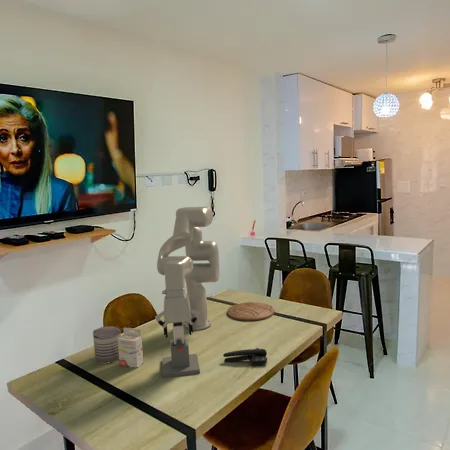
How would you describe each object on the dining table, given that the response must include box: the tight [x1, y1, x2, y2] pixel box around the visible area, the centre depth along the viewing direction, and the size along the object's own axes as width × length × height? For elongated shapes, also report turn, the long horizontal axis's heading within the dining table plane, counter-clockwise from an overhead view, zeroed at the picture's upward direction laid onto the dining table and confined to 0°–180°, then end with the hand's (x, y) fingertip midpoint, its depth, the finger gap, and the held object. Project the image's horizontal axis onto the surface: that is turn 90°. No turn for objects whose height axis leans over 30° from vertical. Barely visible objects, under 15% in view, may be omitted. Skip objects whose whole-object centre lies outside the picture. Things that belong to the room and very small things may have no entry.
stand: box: [162, 338, 201, 378], centre depth 164 cm, size 14×14×11 cm
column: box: [172, 322, 185, 346], centre depth 164 cm, size 4×4×17 cm
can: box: [92, 326, 122, 364], centre depth 176 cm, size 11×11×12 cm
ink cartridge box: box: [118, 327, 144, 368], centre depth 168 cm, size 9×5×15 cm, turn 71°
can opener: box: [223, 347, 268, 366], centre depth 167 cm, size 18×7×6 cm, turn 81°
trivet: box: [227, 301, 275, 322], centre depth 222 cm, size 25×25×2 cm
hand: (178, 334), depth 163 cm, fingers open, 8 cm apart
